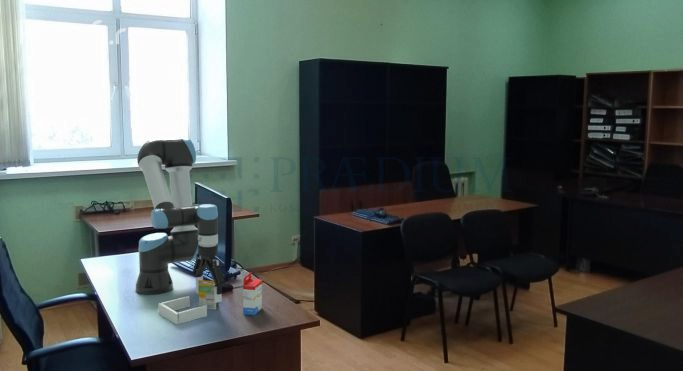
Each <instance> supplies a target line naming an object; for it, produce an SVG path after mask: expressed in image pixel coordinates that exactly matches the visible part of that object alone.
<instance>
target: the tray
mask: <svg viewBox="0 0 683 371" xmlns="http://www.w3.org/2000/svg"><path fill="white" fill-rule="evenodd" d="M157 305H158V315H161V316H162V317H164V318H166V319H167V320H169V321H170V322H172V323H173V324H175V325H180V324H184V323H186V322H187V321H188V322H190V321H191V322H192V321H194V320H198V319H202V318H206V317H207V316H208V309H207V306H206V305H205V306H201V307H199V306H198V307H193V308H189V307H190V296H189V295H187V296H182V297H179V298H174V299H170V300H167V301H163V302H159V303H158V304H157ZM185 308H189V309H187V310H183V311H179V312H177V310H182V309H185Z"/></svg>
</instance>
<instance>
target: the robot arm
mask: <svg viewBox="0 0 683 371" xmlns="http://www.w3.org/2000/svg"><path fill="white" fill-rule="evenodd" d="M136 160H137V165H138V168H139V171H141V172H142V173H143V176H144V179H145V183H146V186H147V187H146V188H148V189H147V190H148V193H149V195H150V198H151V199H150V200H151V203H152V205H153V209H152V210H151V211H150V212H151V213H150V220H151V225H152V227H153V228H154V229H168V228H172V229H171V230H170V235H168V234H167V233H166V232H155V233H150V234H146V235H144V236H142V237H141V238H140V239H139V240H138V250H137V251H138V264H139V274H138V276H137V279H136V282H135V291H136V292H137V293H139V294H142V295H158V294H159V295H160V294H164V293H167V292H169V291H171V290H173V288H174V285H173V284H174V282H173V279H172V276H171V274H170V272H169V264H174V263H182V262H183V263H184V262H192V261H195V262H194V265H193V269H192V275H194V277H195V289H196V290H195V293H196V294H197V295H199V292H198V285H199V283H198V280H204V272H205V270H206V269H207V270H208V271H209V272H210V275H211V277H212V281H214V283H215V286H214V302H215V303H217V302H219V303H220V302H223V301H222V299H223V298H222V295H223V294H222V291H223V289H222V288H223V287H222V286H225V285H226V280H225V276H224V274H223V273H224V272H223V269H222V263H221V260H220V259H216V256H217V255H218V254H219V245H218V243H219V233H218V232H219V229H218V228H219V225H218V224H219V220H218V218H219V212H218V206H217V205H216V204H211V203H207V204H206V203H203V204H199V203H195V204H193V200H192V188H191V176H190V171H191V170H192V169H193V165H194V164H196V161H197V151H196V148H195V145H194V143H193V141H192V139H190V138H189V137H188V138H187V137H164V138H163V137H162V138H161V137H157V138H152V139H150V140H148V141H146V142H145V143H143V145H142V146H141V148H139V151H138V153H137V159H136ZM162 166H164V170H165V171H166V172H167V173H168V174H169V186H168V184H167V180H166V177H165V174H164V171H163V169H162ZM169 187H170V188H169ZM196 226H197V227H196Z"/></svg>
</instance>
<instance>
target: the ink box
mask: <svg viewBox="0 0 683 371" xmlns="http://www.w3.org/2000/svg"><path fill="white" fill-rule="evenodd" d="M242 281H243V283H242V284H243V285H242V313H243V315H246V316H256V315H257V314H258V313H259V312H260V311H261V310H262V309H263V306H262V304H263V280H262V279H258V278H252V271H250V272H249V273H247V274H246V275H245V276H244V277H243V279H242Z"/></svg>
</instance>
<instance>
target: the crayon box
mask: <svg viewBox="0 0 683 371" xmlns="http://www.w3.org/2000/svg"><path fill="white" fill-rule="evenodd" d="M198 283H199V285H198V292H199V293H198V307H201V306H205V305H206V306H207V310H214V311H215V310H217V309H218V308H220V302H217V303H215V302H214V286H215V283H214V280H206V279H205V280H204V279H203V280H198Z"/></svg>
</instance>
